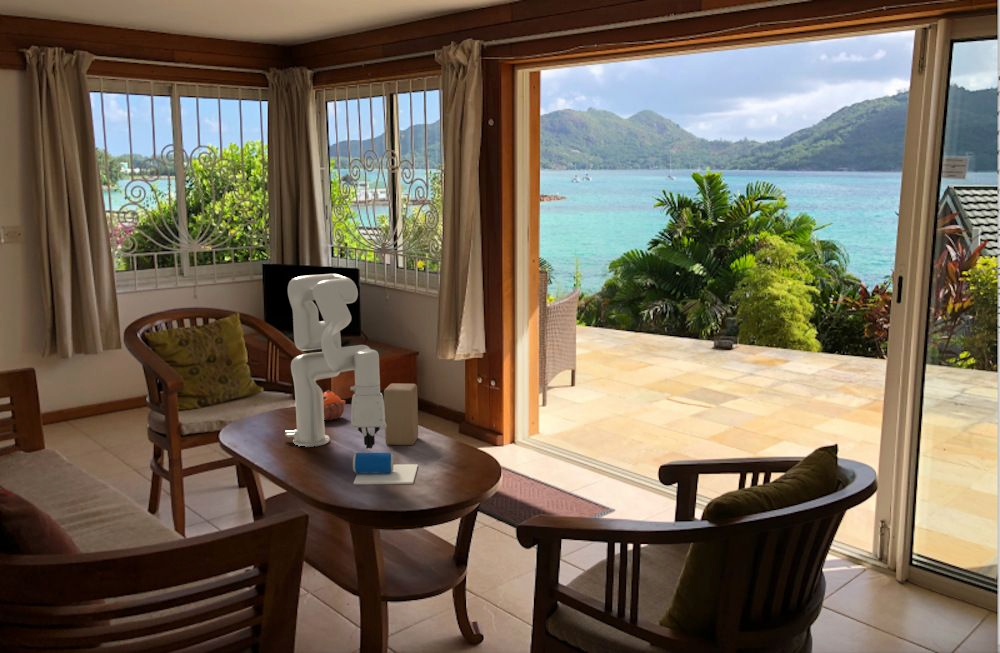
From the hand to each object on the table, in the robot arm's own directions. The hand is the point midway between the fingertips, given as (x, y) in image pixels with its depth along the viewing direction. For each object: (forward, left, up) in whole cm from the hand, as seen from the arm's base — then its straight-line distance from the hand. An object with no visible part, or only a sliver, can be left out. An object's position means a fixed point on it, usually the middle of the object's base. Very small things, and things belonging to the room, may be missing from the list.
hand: (369, 447), depth 259 cm
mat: (+5, 0, -9) cm, 10 cm away
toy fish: (-25, +62, -9) cm, 67 cm away
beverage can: (-5, 0, -5) cm, 7 cm away
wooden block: (+6, +34, -9) cm, 36 cm away
